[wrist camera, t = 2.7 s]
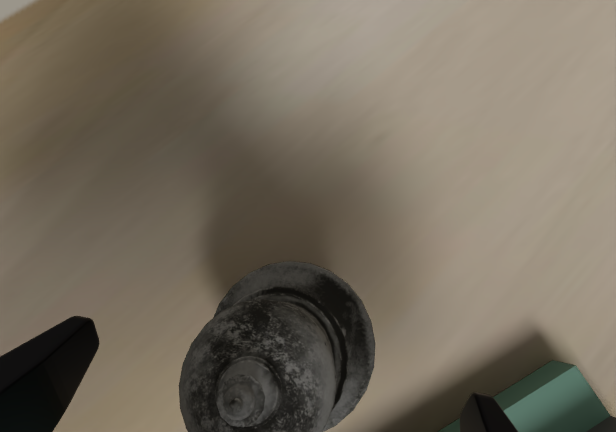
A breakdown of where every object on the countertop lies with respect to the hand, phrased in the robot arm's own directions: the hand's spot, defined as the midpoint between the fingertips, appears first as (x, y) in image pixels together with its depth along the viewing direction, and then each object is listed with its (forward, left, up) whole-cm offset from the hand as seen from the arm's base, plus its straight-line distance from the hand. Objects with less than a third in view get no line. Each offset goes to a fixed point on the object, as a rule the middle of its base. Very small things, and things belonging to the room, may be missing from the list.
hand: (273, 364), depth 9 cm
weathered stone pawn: (0, 0, -8) cm, 8 cm away
